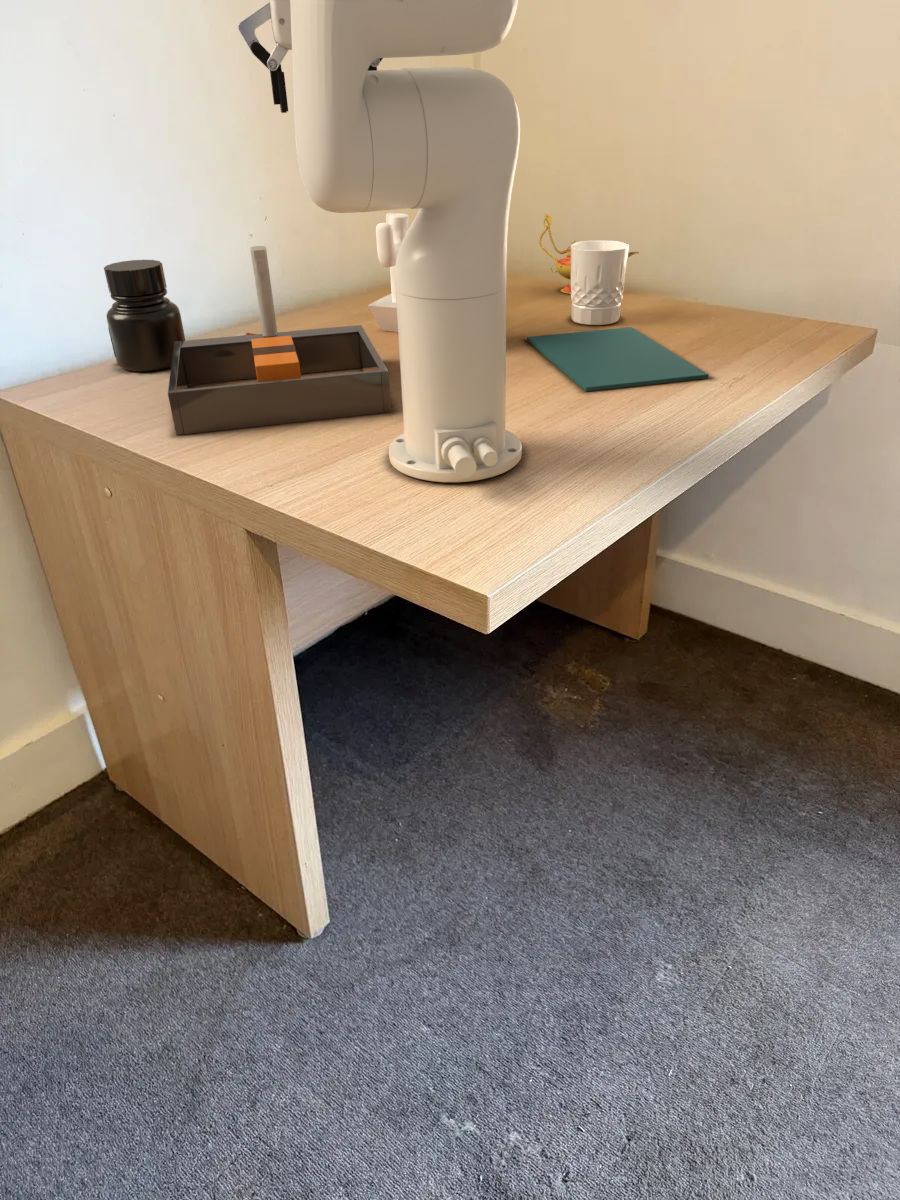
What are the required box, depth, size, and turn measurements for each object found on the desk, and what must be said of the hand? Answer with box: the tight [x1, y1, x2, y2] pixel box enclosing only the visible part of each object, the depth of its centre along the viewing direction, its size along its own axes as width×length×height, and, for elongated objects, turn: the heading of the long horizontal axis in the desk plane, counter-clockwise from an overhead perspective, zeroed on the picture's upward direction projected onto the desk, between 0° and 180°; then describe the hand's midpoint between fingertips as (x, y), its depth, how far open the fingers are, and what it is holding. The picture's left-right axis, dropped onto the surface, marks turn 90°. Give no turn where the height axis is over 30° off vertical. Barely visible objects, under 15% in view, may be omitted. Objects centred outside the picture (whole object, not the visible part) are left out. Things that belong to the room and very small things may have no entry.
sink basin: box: [167, 245, 392, 436], centre depth 96 cm, size 20×23×15 cm
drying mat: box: [526, 326, 709, 392], centre depth 108 cm, size 22×15×1 cm
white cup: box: [570, 239, 630, 326], centre depth 121 cm, size 8×8×10 cm
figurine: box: [366, 211, 410, 333], centre depth 119 cm, size 7×9×15 cm
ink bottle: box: [103, 259, 186, 372], centre depth 109 cm, size 10×9×12 cm
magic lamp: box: [538, 213, 641, 295], centre depth 136 cm, size 7×18×11 cm, turn 52°
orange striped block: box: [251, 336, 302, 382], centre depth 97 cm, size 11×5×5 cm, turn 13°
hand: (327, 110), depth 98 cm, fingers open, 9 cm apart
